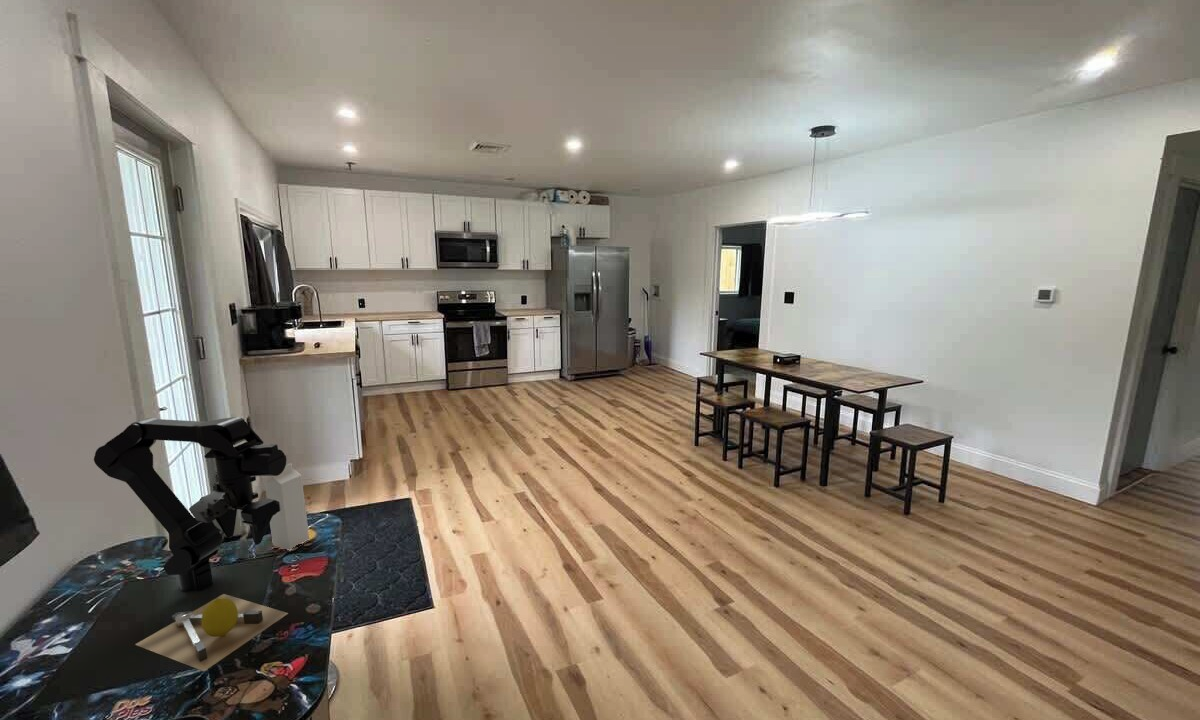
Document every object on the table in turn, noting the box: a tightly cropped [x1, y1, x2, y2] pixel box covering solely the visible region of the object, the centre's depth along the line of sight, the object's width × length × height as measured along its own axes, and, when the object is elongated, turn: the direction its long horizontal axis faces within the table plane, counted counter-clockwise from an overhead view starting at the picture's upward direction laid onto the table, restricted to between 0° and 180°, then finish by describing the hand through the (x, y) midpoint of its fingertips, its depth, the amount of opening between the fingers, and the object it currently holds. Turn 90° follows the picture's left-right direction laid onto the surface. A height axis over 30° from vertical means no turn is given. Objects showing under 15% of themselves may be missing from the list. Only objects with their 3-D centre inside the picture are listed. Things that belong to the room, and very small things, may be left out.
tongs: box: [171, 610, 263, 662], centre depth 96 cm, size 17×12×2 cm
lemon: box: [201, 597, 238, 637], centre depth 93 cm, size 6×6×8 cm
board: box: [134, 593, 289, 672], centre depth 96 cm, size 20×16×1 cm
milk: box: [264, 462, 310, 550], centre depth 128 cm, size 6×6×22 cm
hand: (243, 540), depth 109 cm, fingers open, 9 cm apart
